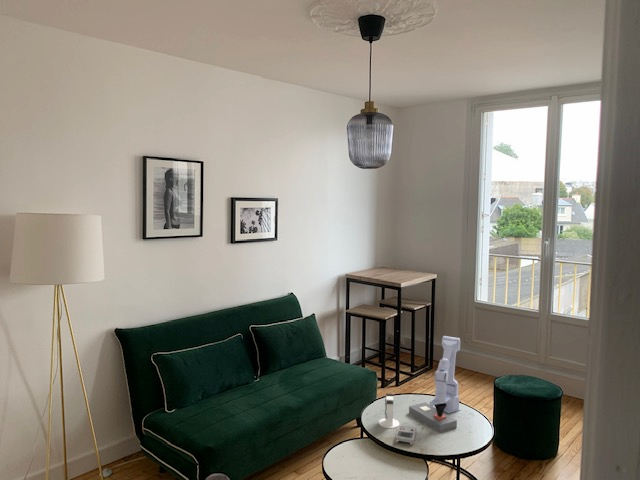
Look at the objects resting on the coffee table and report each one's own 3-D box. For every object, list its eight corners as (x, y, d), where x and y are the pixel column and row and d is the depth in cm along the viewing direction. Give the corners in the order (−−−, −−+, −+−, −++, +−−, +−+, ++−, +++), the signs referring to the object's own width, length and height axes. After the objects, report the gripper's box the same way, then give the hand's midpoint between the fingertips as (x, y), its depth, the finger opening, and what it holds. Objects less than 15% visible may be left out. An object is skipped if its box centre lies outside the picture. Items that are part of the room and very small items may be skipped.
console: (408, 412, 283) (409, 406, 282) (424, 408, 288) (425, 402, 288) (439, 432, 260) (440, 425, 259) (456, 427, 266) (456, 420, 265)
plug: (419, 414, 280) (419, 407, 280) (425, 412, 282) (425, 405, 282) (424, 417, 276) (424, 410, 276) (431, 415, 278) (431, 409, 278)
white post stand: (378, 417, 276) (379, 392, 275) (398, 418, 275) (399, 393, 274) (379, 427, 264) (379, 400, 263) (400, 428, 263) (400, 402, 262)
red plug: (433, 421, 270) (433, 414, 269) (439, 420, 272) (440, 413, 272) (439, 425, 265) (439, 418, 265) (445, 423, 268) (446, 416, 267)
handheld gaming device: (416, 433, 259) (416, 426, 259) (412, 446, 245) (413, 439, 245) (399, 431, 262) (399, 424, 261) (395, 444, 248) (395, 436, 247)
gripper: (444, 387, 274) (443, 410, 276) (425, 392, 267) (425, 416, 268) (454, 391, 268) (453, 415, 270) (435, 396, 261) (434, 421, 262)
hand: (439, 415), depth 268 cm, fingers closed, pressing on red plug
